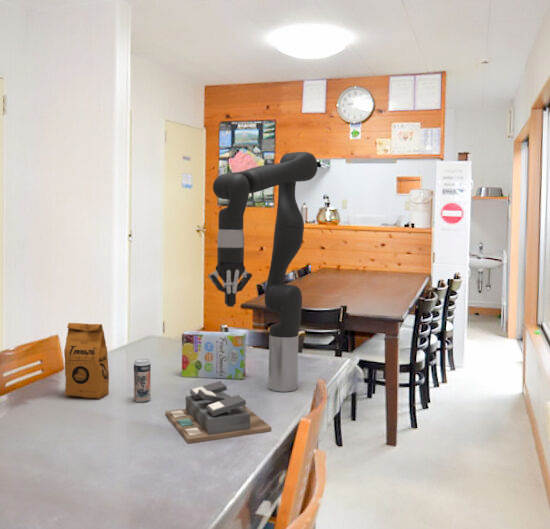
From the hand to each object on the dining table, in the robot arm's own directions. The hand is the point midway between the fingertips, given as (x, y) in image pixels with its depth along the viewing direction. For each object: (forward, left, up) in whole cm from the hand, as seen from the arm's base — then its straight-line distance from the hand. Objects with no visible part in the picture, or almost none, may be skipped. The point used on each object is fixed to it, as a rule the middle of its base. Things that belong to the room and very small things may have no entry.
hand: (230, 306), depth 172 cm
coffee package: (-25, -36, -29) cm, 53 cm away
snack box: (-31, +6, -29) cm, 43 cm away
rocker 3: (+19, -8, -23) cm, 31 cm away
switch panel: (+12, -8, -29) cm, 32 cm away
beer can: (-14, -22, -29) cm, 39 cm away
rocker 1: (+5, -8, -23) cm, 25 cm away
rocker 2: (+12, -8, -23) cm, 28 cm away
